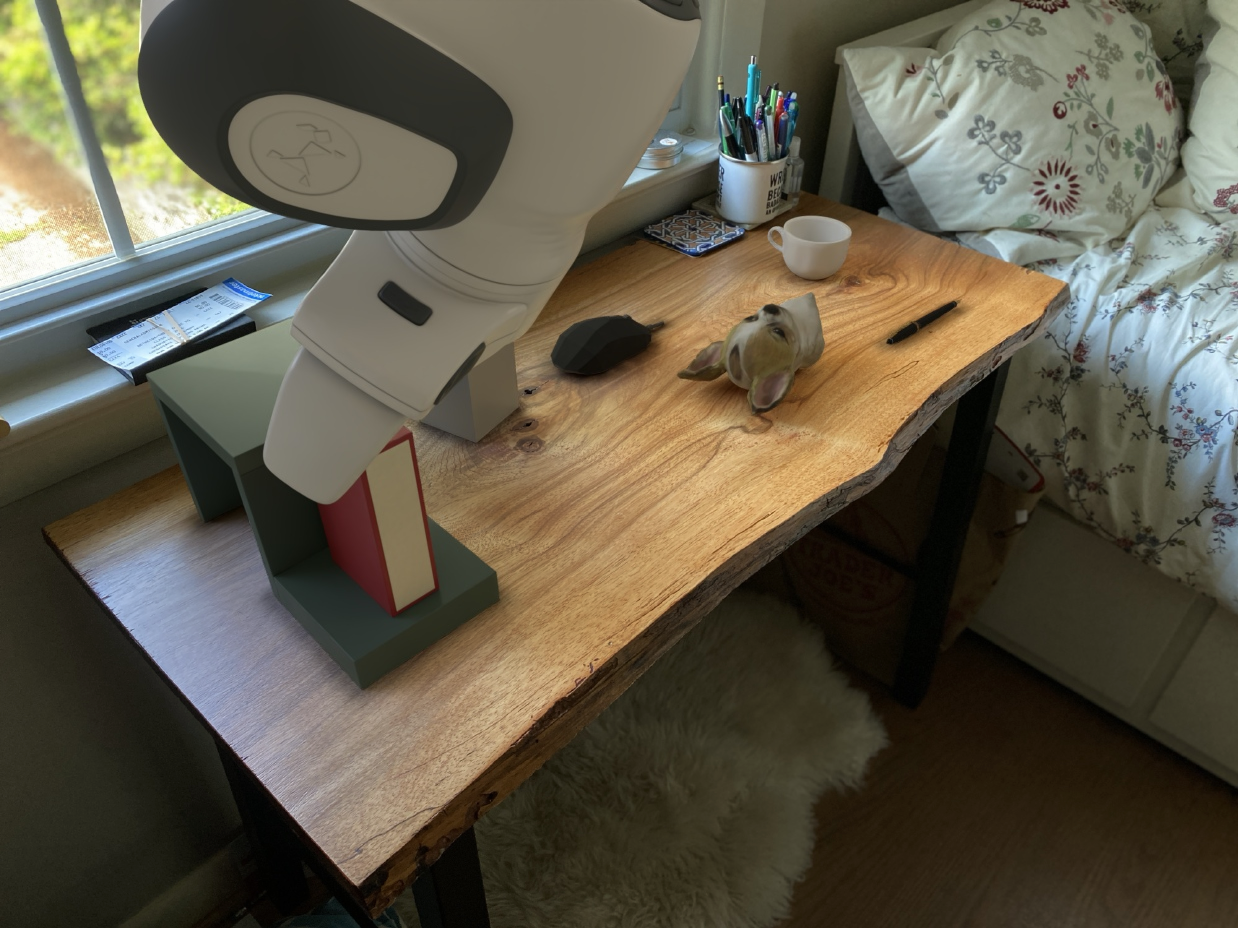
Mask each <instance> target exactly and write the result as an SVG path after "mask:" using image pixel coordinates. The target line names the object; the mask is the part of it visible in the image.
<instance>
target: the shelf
mask: <svg viewBox="0 0 1238 928" xmlns="http://www.w3.org/2000/svg"><path fill="white" fill-rule="evenodd" d="M292 319H293V317H290V318H288V319H286V320H282V321H280V322H278V323H275V324H273V325H270V326H266V327H265V328H263V329H260V330H257V331H254V332H251V333H249V334H246V335H244V336H241V337H239V338H236V339H234V340H231V341H228V342H225V343H223V344H221V345H218V346H215V347H213V348H211V349H210V348H209V349H207V350H205V351H203V352H200V353H197V354H194V355H192V356H190V357H186V358H184V359H182V360H179V361H176V362H174V363H172V364H171V363H170V364H169V365H166V366H164V367H161V368H159V369H156V370H153V371H151V372H148V373H146V374H145V377H146V379H147V382H148V385H149V387H150V390H151V392H152V395H153V398H154V400H155V404H156V406H157V408H158V412H159V415H160V417H161V419H162V421H163V425H164V427H165V430H166V432H167V434H168V438H169V441H170V444H171V446H172V448H173V451H174V453H175V456H176V459H177V462H178V464H179V467H180V469H181V472H182V475H183V477H184V481H185V483H186V485H187V486H186V487H187V489H188V490H189V493H190V496H191V499H192V501H193V504H194V507H195V510H196V512H197V515H198V517H199V518H200V519H201V520H202V521H203V522H204V523H207V522H209V521H211V520H213V519H215V518H218V517H220V516H222V515H224V514H226V513H227V512H230V511H232V510H234V509H236V508H238V507H240V506H242V505H243V507H244V510H245V513H246V516H247V519H248V522H249V526H250V529H251V531H252V535H253V537H254V541H255V543H256V546H257V549H258V552H259V555H260V559H261V561H262V564H263V567H264V570H265V573H266V576H267V579H268V582H269V585H270V588H271V591H272V594H273V596H274V598H275V599H276V600H277V601H278V602H279V603H280V604H281V605H282V606H283V608H284V609H285V610H286V611H287V612H288V613H289V614H290V616H292V618H293V619H295V620H296V622H297V623H299V625H300V626H301V627H302V628H303V629H304V630H305V631H306V632H307V633H308V634H309V635H310V636H311V638H312V639H313V640H314V641H315V642H316V643H317V644H318V645H319V646H320V647H321V648H322V649H323V650H324V652H325V653H326V654H327V655H328V656H329V657H330V658H331V659H332V660H333V661H334V662H335V663H336V664H337V665H338V667H340V668H341V669H342V671H343V672H344V673H345V674H346V675H347V676H348V677H349V678H350V680H352V681H353V682H354V683H355V685H356V686H357V687H358V688H359V689H360V690H361V691H363V690H365V689H367V688H368V687H369V686H371V685H372V684H374V683H376V682H377V681H378V680H380V679H381V678H383V677H385V676H386V675H388V674H389V673H391V672H393V670H395V669H397V668H398V667H400V666H401V665H403V664H404V663H406V662H408V661H409V660H410V659H412V658H414V657H415V656H417V655H418V654H420V653H421V652H423V651H424V650H426V649H428V648H429V647H430V646H432V645H433V644H435V643H436V642H438V641H440V640H441V639H442V638H444V637H446V636H448V635H449V634H450V633H452V632H453V631H455V630H456V629H458V628H459V627H461V626H463V625H464V624H466V623H467V622H469V621H470V620H471V619H473V618H475V617H476V616H478V615H479V614H481V613H482V612H484V611H485V610H487V609H489V608H490V607H491V606H493V605H495V604H496V603H498V602H499V601H501V597H500V587H499V580H498V572H497V571H496V570H495V569H494V568H493V567H491V566H490V565H489V564H488V563H487V562H486V561H484V560H483V559H481V557H479V556H478V555H477V554H476V553H475V552H473V551H472V550H470V549H469V548H468V547H467V546H466V545H465V544H463V543H462V542H461V541H460V540H459V539H458V538H456V537H455V536H454V535H452V534H451V533H450V532H449V531H447V530H446V529H445V528H444V527H443V526H442V525H440V524H439V523H438V522H437V521H435V520H434V519H433V518H432V517H430V516H429V515H428V514H427V519H428V525H429V531H430V537H431V542H432V548H433V554H434V560H435V565H436V571H437V577H438V582H439V589H438V590H436V591H435V592H433V593H432V594H430V595H428V596H427V597H425V598H423V599H422V600H420V601H419V602H417V603H415V604H414V605H412V606H411V607H409V608H407V609H406V610H404V611H402V612H401V613H399V614H398V615H396V616H394V617H392V616H391V615H390V614H389V613H387V612H386V611H385V610H384V609H383V608H382V607H381V606H380V605H379V604H378V603H377V602H376V601H375V600H374V599H373V598H372V597H371V596H370V595H369V594H368V593H367V592H366V591H365V590H363V589H362V588H361V587H360V586H359V585H358V584H357V583H356V582H355V581H354V580H353V579H352V578H351V577H350V576H349V575H348V574H347V573H346V572H345V571H344V570H343V569H342V568H341V567H339V566H338V565H337V564H336V563H335V562H334V561H333V560H332V556H331V552H330V549H329V545H328V541H327V537H326V534H325V530H324V526H323V523H322V519H321V515H320V511H319V508H318V504H317V502H316V501H313V500H311V499H310V498H308V497H306V496H304V495H303V494H301V493H299V492H298V491H296V490H295V489H293V488H292V487H290V486H289V485H287V484H286V483H285V482H283V481H282V480H280V479H279V478H278V477H277V476H275V475H274V474H273V473H272V472H271V471H270V470H269V469H268V468H267V466H266V465H265V463H264V460H263V450H264V444H265V440H266V436H267V432H268V428H269V424H270V420H271V416H272V413H273V409H274V406H275V403H276V400H277V396H278V393H279V390H280V387H281V384H282V382H283V379H284V377H285V374H286V372H287V370H288V368H289V366H290V364H291V362H292V360H293V358H294V356H295V355H296V353H297V351H298V350H299V348H300V347H301V344H300V343H299V342H298V341H296V340H295V339H294V338H293V337H292V336H291V335H290V325H291V322H292Z"/></svg>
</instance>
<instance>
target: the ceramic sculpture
mask: <svg viewBox="0 0 1238 928" xmlns="http://www.w3.org/2000/svg"><path fill="white" fill-rule="evenodd" d="M825 346H826V342H825V339H824V330H823V325H822V320H821V316H820V311H819V308H818V305H817V301H816V297H815V294H814V292H807V293H805V294H804V295H801V296H797V297H794V298H789V299H786V300H784V301H783V302H781V303H780V304H775V303H767V304H764V305H763V306H760V308H758V309H757V311H756V313H754V314H751V315H749V316H747V317H744V318H743V319H741V320H740V322H739V323H738V324H735V325H733V326H732V327H731V328H730V329H729V331H728V333H727V335H726V337H725V338H724V340H717V341H712V342H710V343H709V344H708V346H706V347H704V348H703V349H701V350H700V351H699V353H697V354H696V356H695V358H694V359H693V360H692V361H691V362H690V363H689V365H688V366H687V367H686V368H685V369H683V370H681V371H679V372H678V373H677V374H676V375H677V378H679V379H680V380H681V379H682V380H688V381H693V382H713V381H715V380H716V379H719V378H720V377H721V376H722V375H724V374H725V373H727V376H728V378H729V380H730V381H731V382H732V383H733V384H734V385H735V386H737V387H739V388H741V389H744V390H746V391H747V396H746V399H747V402H748V405H749V408H750V414H751V415H752V416H757V415H761V414H765V413H768V412H770V411H773V410H774V409H776V408H778V407H779V406H780V405H781V404H782V403H783V401H784V400H785V399H786V398H787V396H788V395H789V393H790V392H791V389H792V387H793V386H794V384H795V379H796V375H795V372H797V370H799V369H803V370H806V369H809V368H811V367H813V366H814V365H816V363H818V362H819V360H820V359H821V357H822V355H823V352H824V349H825Z"/></svg>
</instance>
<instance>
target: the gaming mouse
mask: <svg viewBox="0 0 1238 928" xmlns="http://www.w3.org/2000/svg"><path fill="white" fill-rule="evenodd" d="M663 325H665V321H663V320H662V321H659V322H657V323H654V324H651V323H650V324H647V325H644V324H642V323H640V322H638V321H636V320H635V319H633V317H632V316H631V315H629V314H627V313H626V314H623V315H620V314H615V315H603V316H596V317H591V318H586V319H583V320H581V321H577V322H575V323H573V324H572V325H570V326H568V327H567V329H565V330H564V331H563V332H562V333H560V334H559V335H558V338H557V340H556V342H555V345H554V346H553V348H552V351H551V352H550V359H551V362H552V364H553V367H555V368H557V369H559V370H560V371H562V372H563V373H571V374H579V375H586V376H591V375H595V374H600V373H605V372H606V371H609V370H610V369H613V368H614V367H615V366H618V365H620V364H621V363H623V362H625V361H626V360H629V359H631V358H633V357H634V356H637V354H640V353H641V352H643V351H645V350H647V348H648V346H649V345H650V344H651V342H652V334H651V332H650V331H653V330H654V329H656V328H658V327H661V326H663Z"/></svg>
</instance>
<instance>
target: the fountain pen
mask: <svg viewBox="0 0 1238 928" xmlns="http://www.w3.org/2000/svg"><path fill="white" fill-rule="evenodd" d="M962 301H963V298H961V299H956V300H952V301H950V302H948V303H946V304H944V305H942V306H940V307H938V308H936V309H934V310H932V311H930V312H929V313H927V314H924V315H923V316H921V317H920V318H918V319H916V320H907V321H906V322H905V323H903V324H902V325H899V326H898V327H897V328H896V329H894V330H893V331H892V332H891V333H889V334H888V338H887V339H886V343H885V344H886V345H890V346H891V345H895V344H897V343H900V342H901V341H904V340H907V338H909V337H911V336H913V335H914V334H916V333H919V332H920V331H921V330H922V329H924V328H925V327H927V326H929V325H930V324H932V323H933V322H935V321H936V320H938V319H940V318H941V317H943V316H944V315H946V314H947V313H949V312H950V311H952V310H953V309H955V308H957V307H958V305H959V304H961V302H962Z"/></svg>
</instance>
